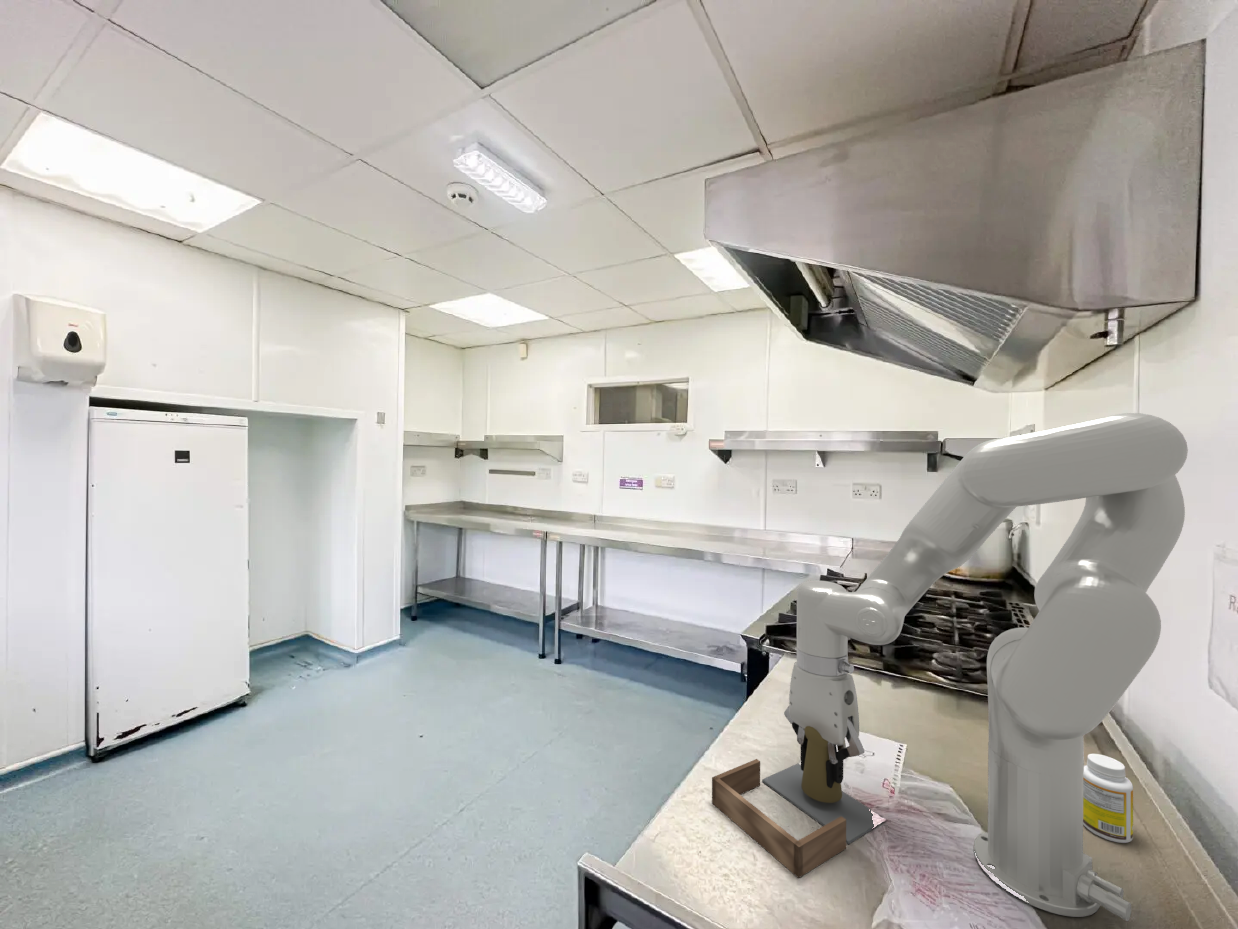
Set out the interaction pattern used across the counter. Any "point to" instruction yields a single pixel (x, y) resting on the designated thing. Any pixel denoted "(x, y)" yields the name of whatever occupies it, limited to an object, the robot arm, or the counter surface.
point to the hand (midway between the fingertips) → (821, 775)
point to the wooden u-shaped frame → (765, 831)
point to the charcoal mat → (822, 803)
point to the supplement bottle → (1107, 799)
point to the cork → (818, 769)
